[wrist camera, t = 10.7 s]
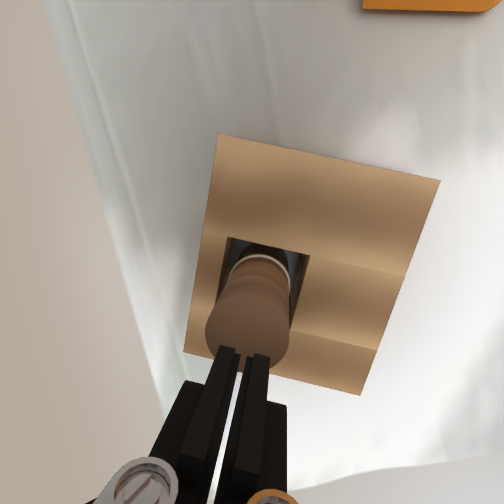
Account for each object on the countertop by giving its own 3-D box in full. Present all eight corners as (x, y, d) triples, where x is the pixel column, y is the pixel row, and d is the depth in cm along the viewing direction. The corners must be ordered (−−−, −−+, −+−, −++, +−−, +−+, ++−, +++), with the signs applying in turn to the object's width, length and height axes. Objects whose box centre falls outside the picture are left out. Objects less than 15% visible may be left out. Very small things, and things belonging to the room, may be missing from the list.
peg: (243, 234, 22) (210, 285, 12) (295, 245, 22) (301, 307, 12) (233, 281, 23) (196, 363, 14) (283, 293, 23) (280, 384, 13)
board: (231, 139, 20) (218, 133, 17) (411, 177, 20) (440, 180, 16) (199, 322, 24) (183, 352, 21) (348, 359, 24) (360, 395, 20)
